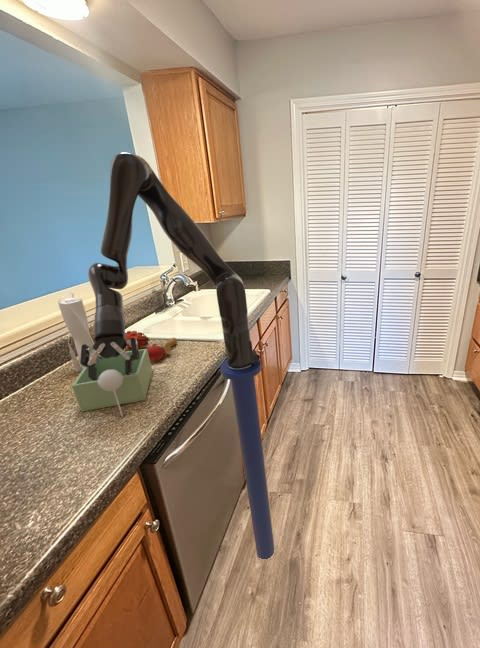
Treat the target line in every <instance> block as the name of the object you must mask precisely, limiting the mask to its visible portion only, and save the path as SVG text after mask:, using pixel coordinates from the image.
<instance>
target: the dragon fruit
mask: <svg viewBox="0 0 480 648" xmlns="http://www.w3.org/2000/svg"><path fill="white" fill-rule="evenodd" d="M131 338H135V339H136V340H137V342H138V349H139V350H141V349H145V347H144V346H147V345H149V342H150V341H151V340H150V337H148V336H147V335H145V333H144V332H139V331H136V330H132V331H131V330H127V331H126V332H125V340H131ZM126 348H127V349H128V351H132V347H130V346H129V345H128V344H127V346H126Z"/></svg>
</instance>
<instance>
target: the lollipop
mask: <svg viewBox="0 0 480 648" xmlns="http://www.w3.org/2000/svg"><path fill="white" fill-rule="evenodd" d="M122 383H123V375H122V374H121V373H120V372H119V371H117V370H113V369H110V370H106V371H104V372H102V373H101V375H100V376H99V379H98V385H99V386H100V387H101V388H102V389H103V390H106V391H113V392H114V395H115V398H116V401H117V404H118V405H117V407H118V411H119V413H120V416H121V418H123V417H124V413H123V410H122V407H121V404H119V401H118V398H117V395H116V392H115V390H116V389H118V388H119V387H120V386H121V385H122Z"/></svg>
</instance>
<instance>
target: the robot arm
mask: <svg viewBox="0 0 480 648" xmlns="http://www.w3.org/2000/svg"><path fill="white" fill-rule="evenodd" d="M138 197H139V198H140V199H141V200H142V201H143V202H144V203H145V204H146V206H148V208H149V209H150V210H151V212H152V213H153V214H154V216H155V218H156V220H157V222H158V223H159V226H160V227H161V229H162V231H163V232H164V234H165V235H166V236H167V238H168V239H169V240H170V241H171V243H172V244H173V245H174V246H175V247H176V248H177V249H178V251H179V252H180V253H181V254H182V255H183V256H185V258H187V259H188V260H189V261H190V262H192V263H193V264H194V265H196V266H197V267H198V268H199V269H200V270H201V271H203V272H204V273H205V275H206V276H207V277H208V279H209V280H210V281H211V283H212V284H213V286H214V287H215V288H216V289H215V292H216V300H217V306H218V311H219V317H220V323H221V329H222V335H223V341H224V343H223V344H224V349H225V357H226V360H227V363H228V368H230V369H232V370H244V369H247V368H249V367H251V366H254V361H256V360H257V361H258V360H259V359H260V360H261V356H260V354H258V353H257V350H256V349H253V344H252V340H251V333H250V323H249V315H248V303H247V293H246V287H245V284H244V281H243V279H242V278H241V277H240V276H239V275H238V274H237V273H236V272H235V271H234V270H233V269H232V268H231V267H230V266H229V265H228V264H227V263H226V262H225V260H223V258H222V257H221V256H220V254H219V253H218V252H217V250H216V249H215V248H214V245H213V244H212V242H211V241H210V240H209V238H208V237H207V236H206V234H205V233H204V232H203V230H202V229H201V228H200V227H199V226H198V224H197V223H196V222H195V220H194V219H193V218H192V217H190V215H189V214H188V213H187V212H186V210H185V209H184V208H183V207H182V206H181V205H180V204H179V203H178V202H177V200H175V199H174V197H172V195H171V194H170V193H169V192H168V190H167V189H166V188H165V186H164V185H163V183H162V182H161V180H160V179H159V178H158V176H157V174H156V173H155V172H154V170H153V168H152V167H151V164H150V163H148V162H147V160H146V159H144V157H142V156H139V155H138V154H135V153H131V152H127V151H126V152H120V153H117V154H115V155H114V157H113V158H112V160H111V162H110V173H109V199H108V210H107V217H106V221H105V227H104V231H103V236H102V237H103V238H102V240H101V246H100V254H101V255H102V256H103V257H104V258H106V259H108V260H110V261H113V262H115V263H116V265H112V264H106V263H102V262H94V263H92V264H91V265H90V266H89V268H88V271H87V274H88V275H87V276H88V280H89V283H90V286H91V288H92V291H93V294H94V298H95V312H94V344H93V345H86V344H83V345H82V347H81V359H80V361H79V365H80V364H81V365H83V366H84V367H88V376H89V378H90V379H91V380H93V381H96V380H97V368H96V366H97V365H98V364H99V362H101V361H102V360H103V359H104V358H110V357H118V356H119V355H120V354H121V355H122V356H123V357H124V358H125V359H126V361H125V373H126V375H130V373H132V371H133V368H132V362H133V361H134V360H138V359H139V358H140V357H139V349H138V342H137V340H136V339H135V338H131V340H125V333H126V327H125V325H126V320H125V314H124V300H123V295H122V293H121V292H119V291H118V290H123V289H125V288H126V287H127V285H128V283H129V273H128V254H129V250H130V246H131V242H132V236H133V214H134V209H135V204H136V201H137V198H138ZM127 344H128V345H129V346H130V347H132V348H131V351H132V355H130V356H129V355H128V354H127V353H126V352H127V351H125V349H126V348H127ZM93 349H95V350H96V352H95V353H94V354H93V356H92V358H91V360H90V361H89V357H90V353H91V352H92V350H93Z"/></svg>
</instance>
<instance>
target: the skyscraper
mask: <svg viewBox="0 0 480 648" xmlns="http://www.w3.org/2000/svg"><path fill="white" fill-rule="evenodd" d="M68 295H69V296H70V295H71V297H70V298H65V299H64V300H63V301H61V300H62V299H63V298H64V297H66V296H68ZM74 295H75V293H74V292H67V293H65V294H63V295H61V296H60V298H59V299H58V301H57V304H58V307H59V310H60V313H61V316H62V318H63V321H64V324H65V326H66V328H67V330H68V332H69V334H70V335H71V337H72V338H73V343H74V346H75V347H74V348H75V350H76V352H75V350H73V348H72V345H71V343H70V340H69V339H67V340H66V341H67V346H68V348H69V354H70V356H71V361H72V365H73V367H74V370H75V371H74V373H76V374H77V373H78V374H80V373H81V372H82V370H83V369H84V366H83V365H81V364H80V359H81V347H82V345H83V344H86V345H93V344H94V343H95V341H94V340H93V338H92V336H91V334H90V330H89V321H88V315H87V312H86V308H85V305H84V302H83V299H82V298H74ZM95 352H96V350H95V349H93V350H92V352H91V353H90V357H89V360H90V359H91V357H92V356H93V354H94V353H95ZM75 353H76V354H77V355H76V354H75Z"/></svg>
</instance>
